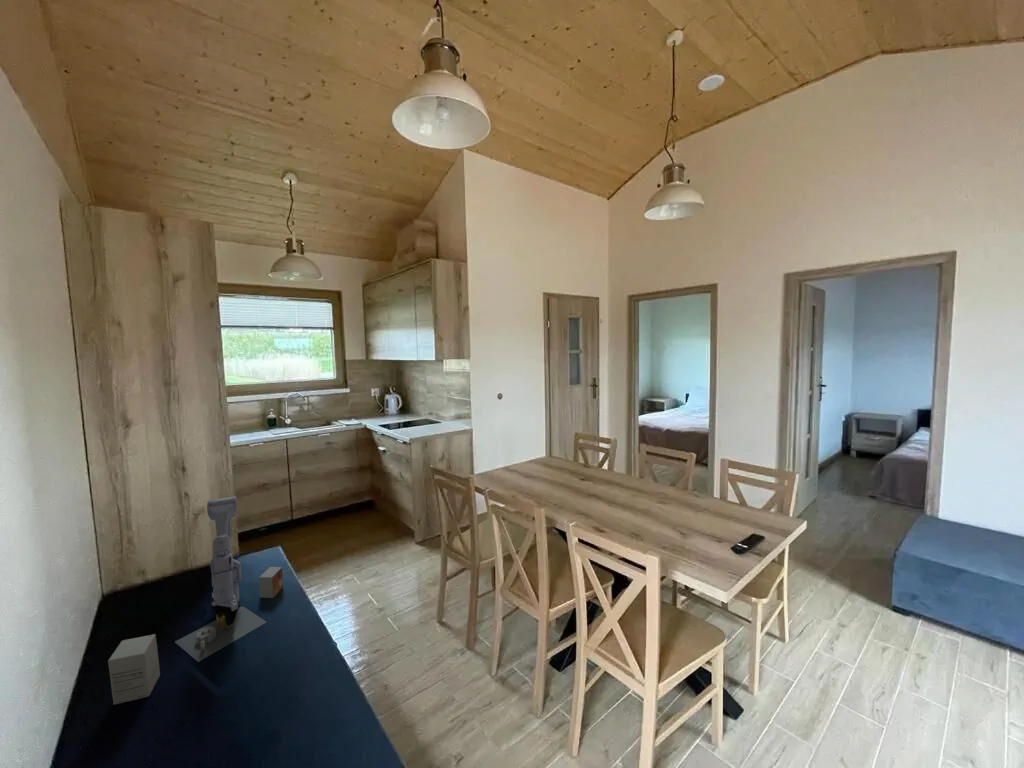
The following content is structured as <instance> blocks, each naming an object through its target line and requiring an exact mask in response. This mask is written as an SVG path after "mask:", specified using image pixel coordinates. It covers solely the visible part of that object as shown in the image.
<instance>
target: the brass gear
mask: <svg viewBox="0 0 1024 768" xmlns="http://www.w3.org/2000/svg"><path fill="white" fill-rule="evenodd" d="M216 620H217V627H219V628H220V627H221V628H226V627H227V626H228V625H227V623H226V620H225V616H224V614H223V613H222V612H221V611H220V613H218V614H216ZM235 621H236V617H235ZM235 621H234V623H235ZM231 625H232V624H231ZM231 625H229V626H231ZM229 626H228V627H229Z"/></svg>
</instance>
